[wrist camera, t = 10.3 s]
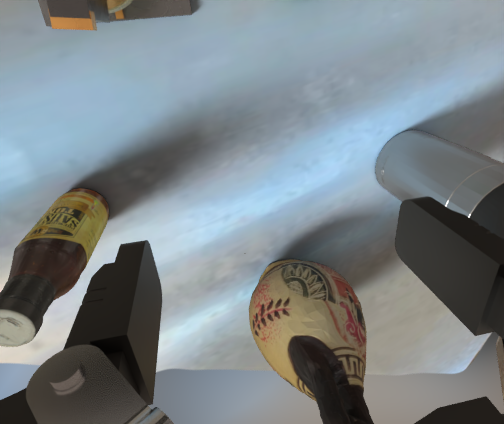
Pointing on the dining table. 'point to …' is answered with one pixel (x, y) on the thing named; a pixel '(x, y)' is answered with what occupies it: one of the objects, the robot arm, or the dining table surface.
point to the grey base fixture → (138, 10)
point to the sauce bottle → (50, 262)
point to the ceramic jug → (313, 336)
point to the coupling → (82, 12)
